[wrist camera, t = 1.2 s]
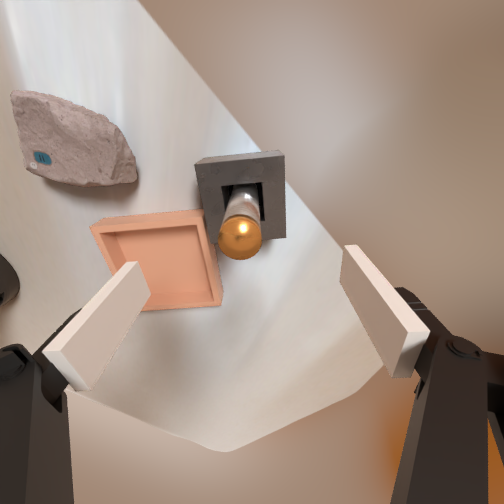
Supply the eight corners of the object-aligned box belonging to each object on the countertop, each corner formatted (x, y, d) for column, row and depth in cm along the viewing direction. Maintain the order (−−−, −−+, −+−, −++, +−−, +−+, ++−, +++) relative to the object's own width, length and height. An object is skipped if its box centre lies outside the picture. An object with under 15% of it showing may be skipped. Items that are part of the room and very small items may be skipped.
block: (216, 226, 35) (210, 244, 30) (204, 157, 30) (194, 164, 25) (281, 220, 34) (286, 237, 29) (278, 150, 30) (284, 155, 24)
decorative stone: (45, 169, 31) (4, 178, 26) (28, 88, 27) (-25, 79, 21) (144, 191, 33) (124, 204, 27) (143, 117, 28) (120, 116, 23)
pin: (234, 204, 33) (221, 261, 19) (231, 179, 32) (214, 222, 18) (258, 202, 33) (263, 258, 19) (256, 177, 31) (259, 218, 17)
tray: (139, 297, 42) (130, 311, 39) (104, 217, 34) (89, 227, 31) (223, 291, 41) (221, 305, 38) (206, 208, 34) (202, 217, 30)
